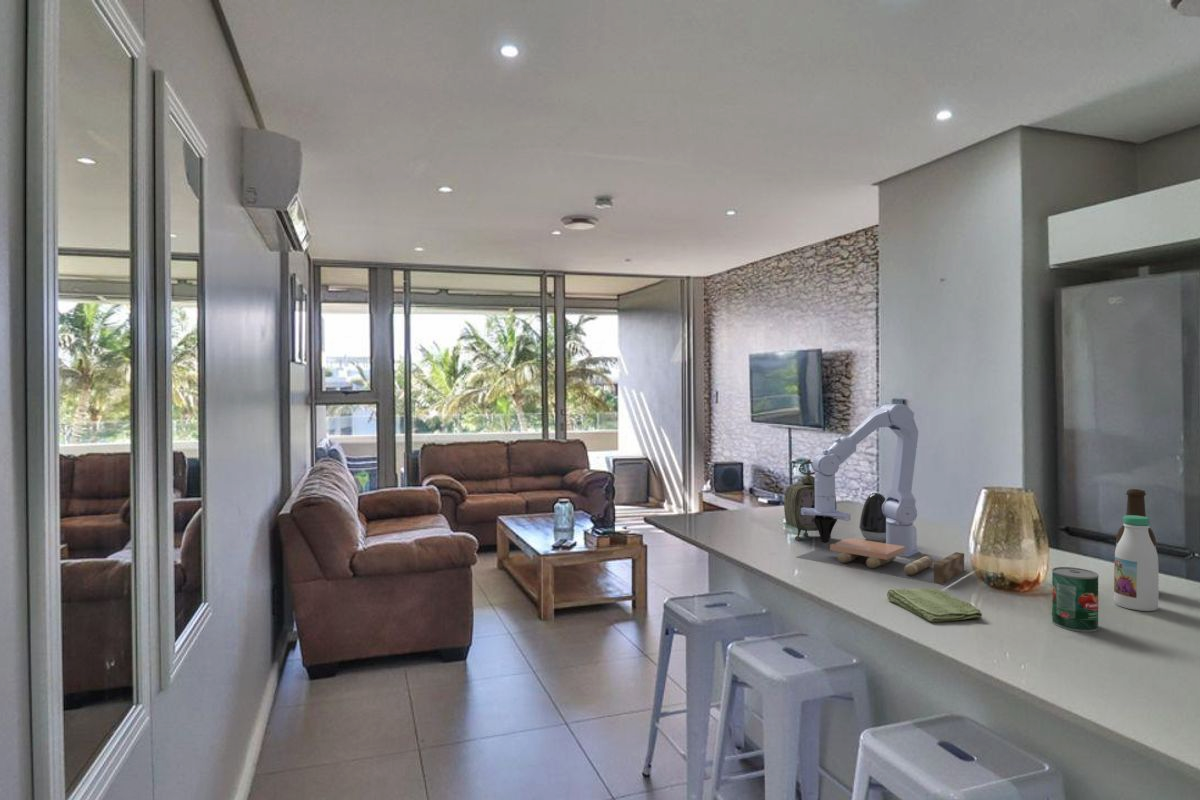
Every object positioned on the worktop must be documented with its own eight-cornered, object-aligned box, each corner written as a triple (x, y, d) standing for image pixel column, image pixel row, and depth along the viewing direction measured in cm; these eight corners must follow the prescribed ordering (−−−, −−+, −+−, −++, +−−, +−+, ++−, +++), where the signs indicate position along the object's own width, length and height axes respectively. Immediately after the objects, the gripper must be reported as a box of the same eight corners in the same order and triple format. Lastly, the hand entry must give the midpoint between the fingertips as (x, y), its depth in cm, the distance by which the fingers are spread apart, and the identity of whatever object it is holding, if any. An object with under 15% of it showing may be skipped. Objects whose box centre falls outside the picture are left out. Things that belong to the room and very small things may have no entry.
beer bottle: (1150, 587, 166) (1151, 488, 165) (1161, 596, 159) (1161, 493, 158) (1111, 583, 169) (1111, 486, 169) (1120, 592, 162) (1120, 491, 161)
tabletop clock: (794, 542, 216) (794, 463, 216) (781, 536, 225) (781, 460, 225) (836, 540, 219) (836, 462, 219) (821, 534, 228) (821, 459, 228)
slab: (849, 542, 201) (849, 537, 201) (905, 551, 190) (905, 546, 190) (830, 550, 192) (830, 544, 192) (887, 559, 181) (887, 554, 181)
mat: (825, 547, 210) (825, 546, 210) (967, 571, 181) (967, 570, 181) (795, 558, 197) (795, 557, 197) (943, 586, 168) (943, 584, 168)
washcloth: (930, 626, 142) (930, 611, 142) (882, 600, 159) (882, 586, 159) (987, 622, 144) (987, 607, 144) (934, 597, 162) (934, 583, 161)
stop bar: (956, 570, 182) (956, 552, 182) (964, 572, 181) (964, 553, 181) (933, 583, 171) (933, 563, 171) (942, 585, 169) (942, 565, 169)
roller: (921, 565, 186) (922, 555, 186) (932, 567, 184) (933, 557, 184) (902, 575, 177) (902, 564, 177) (913, 577, 175) (913, 566, 175)
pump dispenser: (887, 536, 223) (887, 490, 223) (898, 544, 213) (898, 495, 213) (855, 536, 224) (855, 490, 224) (864, 543, 214) (864, 495, 214)
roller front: (885, 559, 194) (885, 548, 193) (896, 560, 191) (896, 550, 191) (864, 568, 184) (864, 557, 184) (875, 570, 182) (875, 559, 182)
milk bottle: (1149, 602, 154) (1149, 514, 154) (1164, 613, 147) (1165, 520, 147) (1108, 599, 157) (1109, 512, 156) (1122, 610, 149) (1122, 519, 149)
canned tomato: (1100, 634, 135) (1100, 579, 135) (1052, 627, 139) (1052, 573, 139) (1096, 622, 142) (1097, 570, 142) (1051, 616, 146) (1051, 565, 146)
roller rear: (857, 554, 199) (857, 544, 199) (868, 556, 197) (867, 545, 197) (836, 563, 190) (836, 552, 190) (846, 565, 188) (846, 554, 188)
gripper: (795, 494, 202) (795, 540, 202) (842, 500, 192) (842, 548, 192) (807, 492, 207) (807, 536, 207) (853, 497, 197) (853, 544, 197)
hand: (825, 542), depth 200 cm, fingers closed
